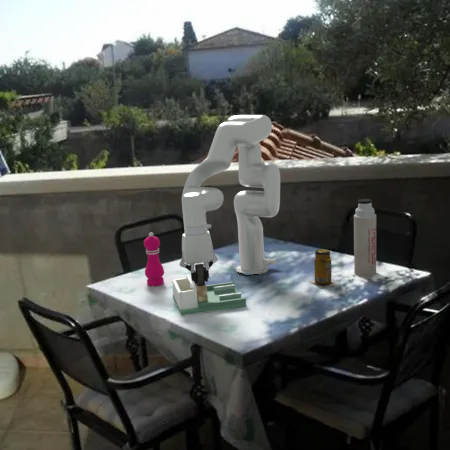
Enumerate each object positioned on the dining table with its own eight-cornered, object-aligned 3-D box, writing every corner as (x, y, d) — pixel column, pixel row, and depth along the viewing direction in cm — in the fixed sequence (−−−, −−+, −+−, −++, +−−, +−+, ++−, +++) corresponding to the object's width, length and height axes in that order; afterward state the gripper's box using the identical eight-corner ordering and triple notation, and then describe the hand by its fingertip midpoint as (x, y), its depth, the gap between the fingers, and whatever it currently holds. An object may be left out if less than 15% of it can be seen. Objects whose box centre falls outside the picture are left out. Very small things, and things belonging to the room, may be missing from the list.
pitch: (233, 288, 228) (232, 281, 227) (246, 306, 211) (245, 298, 210) (172, 297, 224) (172, 289, 223) (181, 315, 207) (180, 307, 206)
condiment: (327, 278, 233) (326, 247, 230) (338, 285, 226) (338, 252, 223) (309, 281, 231) (308, 250, 228) (320, 288, 223) (319, 256, 220)
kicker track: (234, 289, 224) (234, 284, 223) (241, 298, 215) (241, 293, 214) (213, 292, 222) (213, 287, 222) (219, 301, 213) (219, 296, 213)
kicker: (204, 294, 220) (201, 261, 217) (207, 300, 214) (205, 266, 211) (195, 295, 219) (193, 262, 216) (199, 301, 213) (196, 268, 210)
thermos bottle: (380, 273, 234) (380, 199, 227) (363, 278, 231) (363, 203, 224) (366, 268, 241) (366, 196, 234) (349, 272, 237) (349, 199, 231)
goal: (190, 293, 223) (188, 274, 221) (197, 307, 209) (196, 287, 208) (173, 295, 221) (171, 276, 220) (179, 309, 208) (178, 289, 206)
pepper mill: (162, 286, 235) (157, 234, 230) (143, 286, 236) (138, 235, 231) (167, 280, 242) (163, 229, 237) (149, 280, 243) (144, 229, 238)
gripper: (217, 223, 215) (221, 274, 220) (169, 230, 212) (174, 281, 217) (222, 229, 208) (226, 281, 213) (173, 236, 205) (178, 289, 210)
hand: (200, 280), depth 215 cm, fingers closed on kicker, 3 cm apart
